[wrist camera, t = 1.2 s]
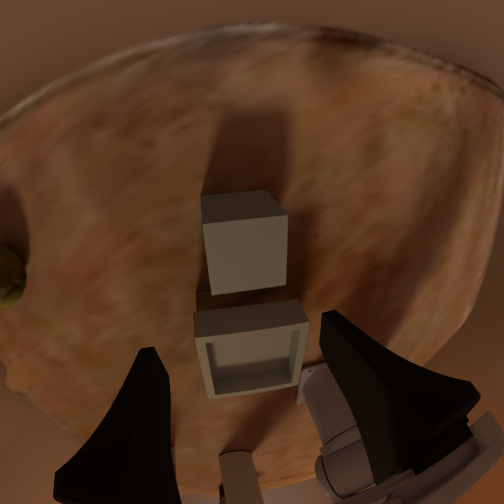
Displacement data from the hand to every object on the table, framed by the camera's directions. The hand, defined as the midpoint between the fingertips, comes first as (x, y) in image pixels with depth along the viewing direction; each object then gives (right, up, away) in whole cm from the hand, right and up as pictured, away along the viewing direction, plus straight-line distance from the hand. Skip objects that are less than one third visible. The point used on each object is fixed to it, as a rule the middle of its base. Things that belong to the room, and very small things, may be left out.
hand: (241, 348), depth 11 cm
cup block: (0, -3, +10) cm, 11 cm away
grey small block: (-1, +6, +8) cm, 10 cm away
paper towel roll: (-3, -33, +29) cm, 43 cm away
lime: (-19, +3, +6) cm, 20 cm away
